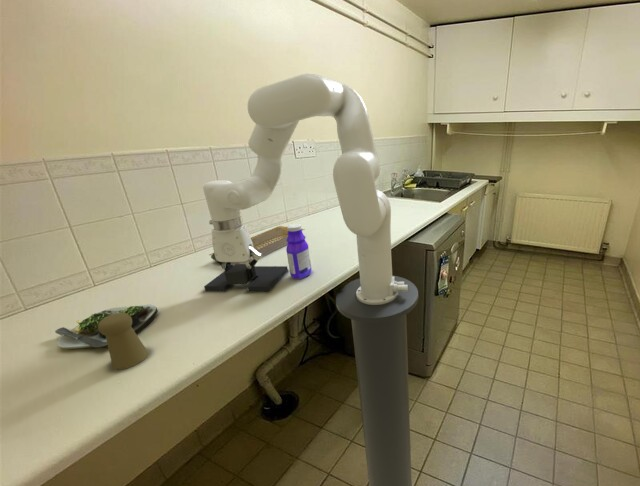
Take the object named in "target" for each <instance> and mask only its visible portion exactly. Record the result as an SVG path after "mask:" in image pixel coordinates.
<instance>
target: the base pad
mask: <svg viewBox="0 0 640 486" xmlns="http://www.w3.org/2000/svg"><path fill="white" fill-rule="evenodd" d="M254 267H255V271H256V277H255V278H253V279H252V280H251V282H250V283H249V284H247V291H248V293H252V292H253V293H255V292H256V293H265V292H266V293H269V292H270V291H271V290H272V289H273V288H274V287H275V286H276V285H277V284H278V283H279V282H280V280H281V279H283V278H284V276H285V275H286V274H287V273H289V267H288V266H287V265H285V266H281V265H279V266H278V265H275V266H273V265H269V266H267V265H266V266H265V265H261V266H260V265H254ZM234 285H235V284H227V281H226V277H225V270H223V272H222V273H220V274H219V275H217V276H216V277H214V278H213V279H212V280H211V281H209V282H208V283H206V284H205V285H204V290H205V292H227V291H228V290H229V289H230V288H232V287H233V286H234Z"/></svg>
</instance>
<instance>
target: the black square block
mask: <svg viewBox="0 0 640 486" xmlns="http://www.w3.org/2000/svg"><path fill="white" fill-rule="evenodd" d="M246 269H247V266H246V265H245V264H235V265H234V266H233V267H232V268H230V269H229V270H228V271H226V272H225V277H226V281H227V284H234V285H248V284H250V283H251V281H249V279H248V275H247V271H246Z"/></svg>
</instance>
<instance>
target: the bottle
mask: <svg viewBox="0 0 640 486" xmlns="http://www.w3.org/2000/svg"><path fill="white" fill-rule="evenodd" d="M286 227H287V228H288V235H287V236H288V237H287V242H288V244H287V245H286V249H285V250H286V257H287V263H288V270H289V274H290V277H291V278H293V279H296V280H297V279H298V280H300V279H305V278H306V277H308V276H309V275H310V274H311V273H312V263H311V262H312V261H311V256H310V250H309V249H310V248H309V244H308V242H307V240H306V236H305V235H304V233H303V228H302V225H301V224H299V223H293V224H292V223H291V224H289V225H287V226H286Z"/></svg>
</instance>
